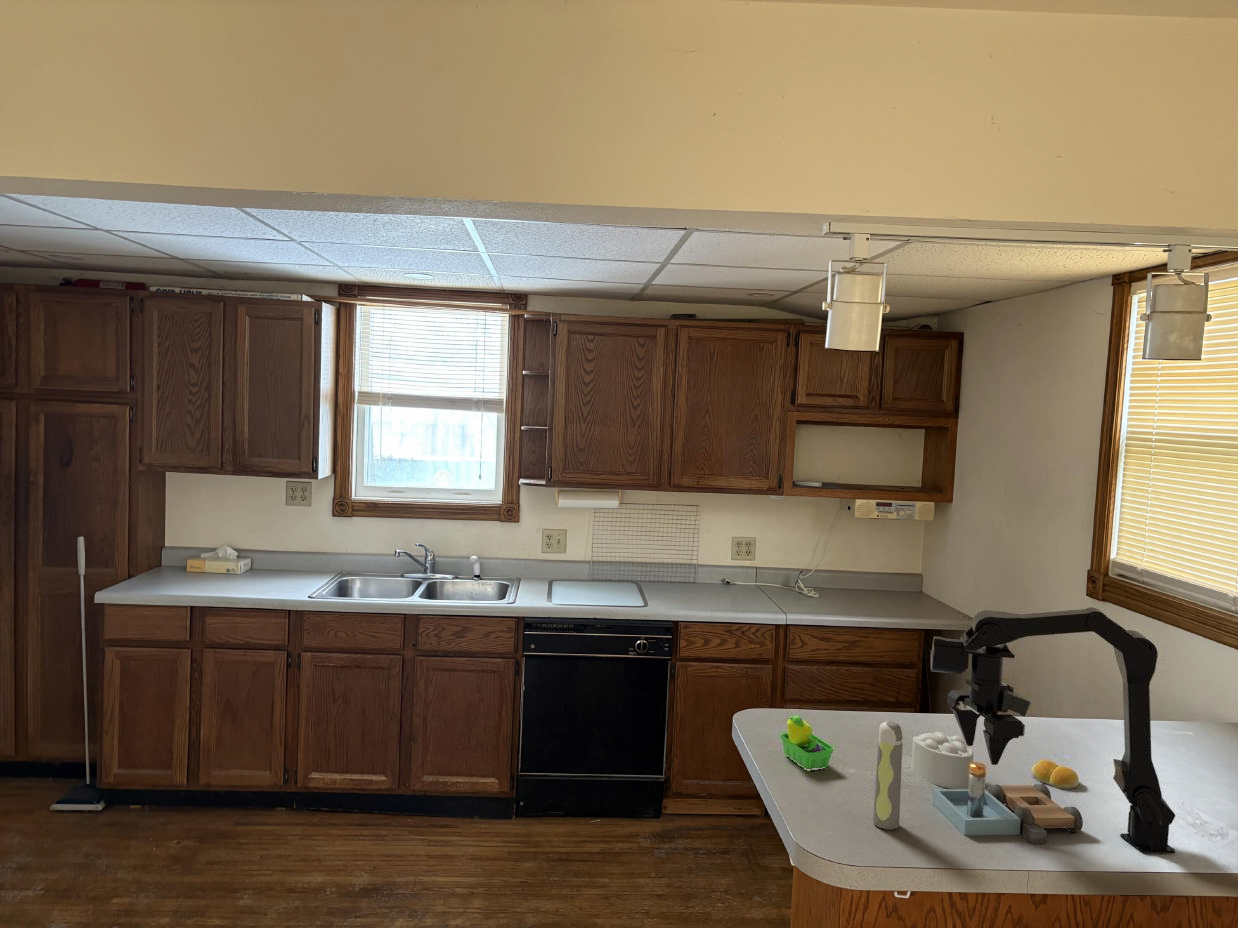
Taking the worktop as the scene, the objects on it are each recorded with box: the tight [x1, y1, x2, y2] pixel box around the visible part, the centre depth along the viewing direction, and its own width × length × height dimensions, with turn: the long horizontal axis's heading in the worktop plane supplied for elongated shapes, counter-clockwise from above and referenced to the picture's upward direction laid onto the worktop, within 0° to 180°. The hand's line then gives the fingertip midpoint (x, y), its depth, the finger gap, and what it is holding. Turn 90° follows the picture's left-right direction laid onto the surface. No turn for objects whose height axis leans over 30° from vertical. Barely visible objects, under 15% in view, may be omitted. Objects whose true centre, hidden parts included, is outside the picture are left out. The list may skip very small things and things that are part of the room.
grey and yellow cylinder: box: [872, 720, 903, 831], centre depth 162 cm, size 5×5×20 cm
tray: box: [932, 788, 1021, 836], centre depth 167 cm, size 13×11×3 cm
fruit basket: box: [779, 715, 835, 769], centre depth 191 cm, size 11×9×11 cm
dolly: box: [986, 783, 1084, 845], centre depth 166 cm, size 17×12×4 cm
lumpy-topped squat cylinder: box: [910, 731, 974, 789], centre depth 186 cm, size 10×13×9 cm
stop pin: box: [967, 761, 987, 818], centre depth 166 cm, size 3×3×10 cm
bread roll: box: [1030, 759, 1079, 789], centre depth 186 cm, size 8×9×4 cm
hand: (981, 754), depth 166 cm, fingers open, 9 cm apart
